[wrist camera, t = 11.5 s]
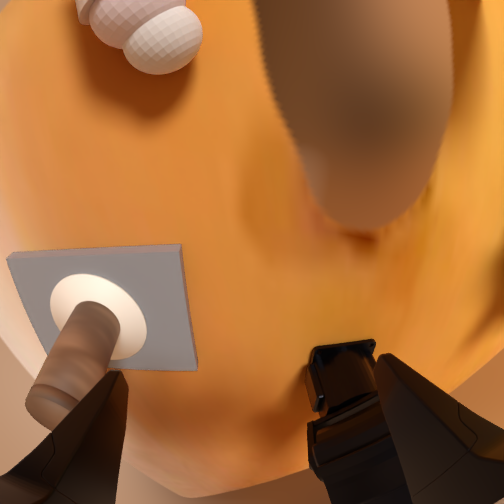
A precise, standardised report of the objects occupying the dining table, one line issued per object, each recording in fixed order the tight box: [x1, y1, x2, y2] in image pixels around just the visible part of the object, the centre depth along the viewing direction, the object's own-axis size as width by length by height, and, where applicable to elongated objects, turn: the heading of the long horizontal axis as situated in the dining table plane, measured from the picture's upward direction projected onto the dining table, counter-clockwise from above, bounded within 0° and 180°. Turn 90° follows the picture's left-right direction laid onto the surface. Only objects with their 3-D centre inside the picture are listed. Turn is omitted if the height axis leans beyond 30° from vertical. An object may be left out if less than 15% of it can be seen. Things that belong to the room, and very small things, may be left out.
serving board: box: [6, 244, 198, 371], centre depth 22 cm, size 16×12×2 cm
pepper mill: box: [25, 301, 120, 431], centre depth 17 cm, size 4×4×10 cm
